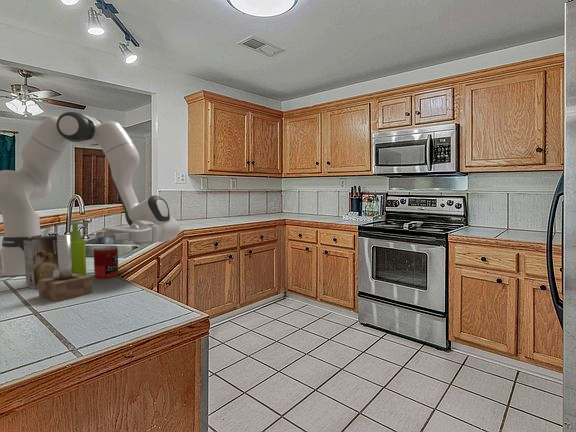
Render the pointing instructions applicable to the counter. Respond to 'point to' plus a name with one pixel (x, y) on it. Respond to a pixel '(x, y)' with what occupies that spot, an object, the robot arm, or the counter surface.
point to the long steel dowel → (64, 257)
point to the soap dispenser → (78, 250)
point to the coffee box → (39, 258)
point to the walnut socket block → (65, 287)
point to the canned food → (106, 262)
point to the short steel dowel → (55, 272)
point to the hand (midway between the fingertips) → (105, 235)
